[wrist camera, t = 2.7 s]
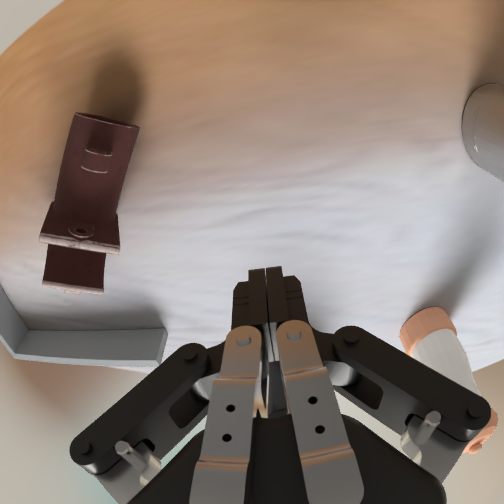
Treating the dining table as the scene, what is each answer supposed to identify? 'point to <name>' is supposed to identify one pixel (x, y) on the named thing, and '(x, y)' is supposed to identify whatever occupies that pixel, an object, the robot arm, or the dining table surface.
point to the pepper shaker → (443, 356)
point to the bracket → (87, 204)
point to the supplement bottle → (276, 392)
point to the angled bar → (80, 343)
